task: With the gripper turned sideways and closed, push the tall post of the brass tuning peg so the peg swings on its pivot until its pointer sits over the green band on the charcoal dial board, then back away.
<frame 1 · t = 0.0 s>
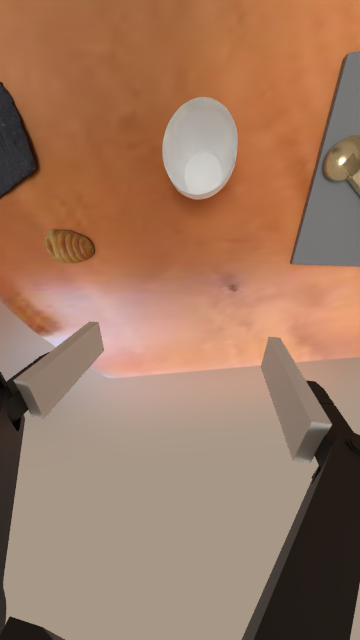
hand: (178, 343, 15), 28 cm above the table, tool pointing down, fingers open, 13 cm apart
pastry: (73, 245, 42), on the table
cup: (203, 175, 33), on the table
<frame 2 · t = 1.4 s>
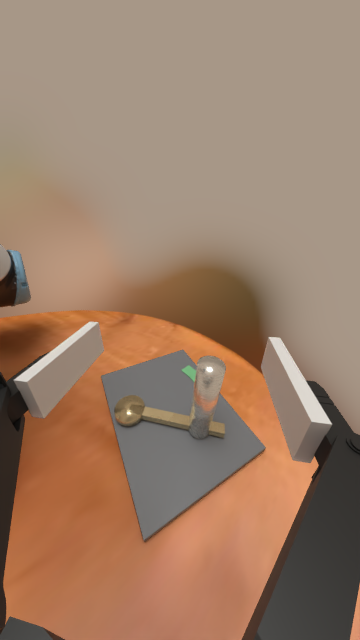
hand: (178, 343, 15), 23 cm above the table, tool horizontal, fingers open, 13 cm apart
dial board: (171, 409, 35), on the table
tuning peg: (169, 393, 28), point 9 cm above the table, hinge at 0.0°
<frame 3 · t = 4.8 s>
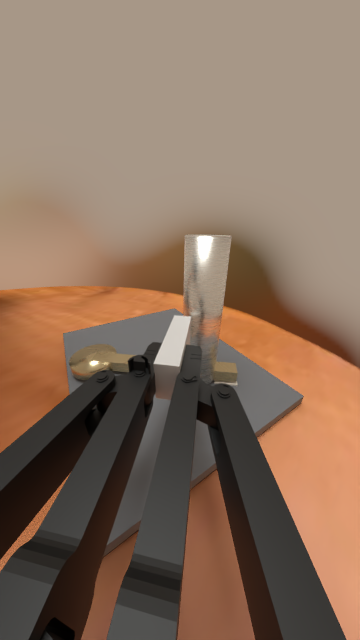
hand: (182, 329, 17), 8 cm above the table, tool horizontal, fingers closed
dial board: (157, 364, 25), on the table
tuning peg: (148, 313, 18), point 9 cm above the table, hinge at 2.2°, touching gripper
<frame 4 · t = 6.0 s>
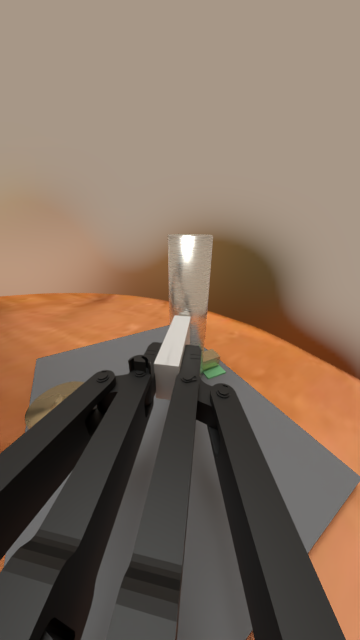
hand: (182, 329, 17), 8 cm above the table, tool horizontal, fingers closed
dial board: (150, 407, 19), on the table
tuning peg: (134, 325, 16), point 9 cm above the table, hinge at 37.1°, touching gripper
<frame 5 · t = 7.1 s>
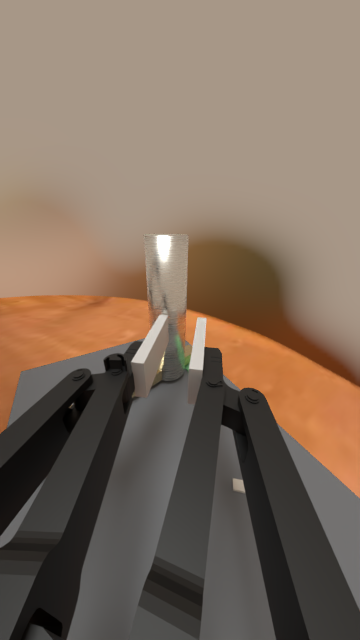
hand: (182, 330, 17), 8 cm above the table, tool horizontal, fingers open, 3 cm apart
dial board: (144, 431, 17), on the table
tuning peg: (117, 331, 15), point 8 cm above the table, hinge at 52.8°, touching gripper
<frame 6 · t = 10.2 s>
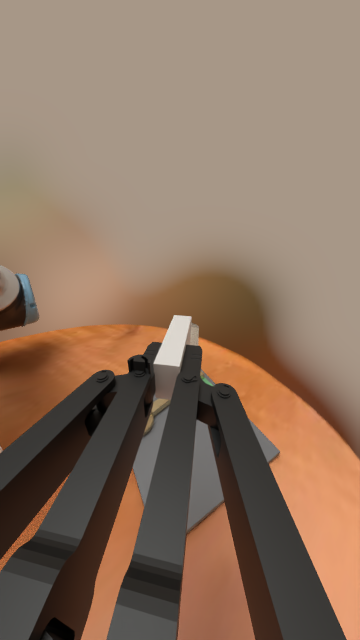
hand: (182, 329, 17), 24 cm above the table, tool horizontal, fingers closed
dial board: (180, 417, 35), on the table
tuning peg: (167, 372, 33), point 9 cm above the table, hinge at 52.9°
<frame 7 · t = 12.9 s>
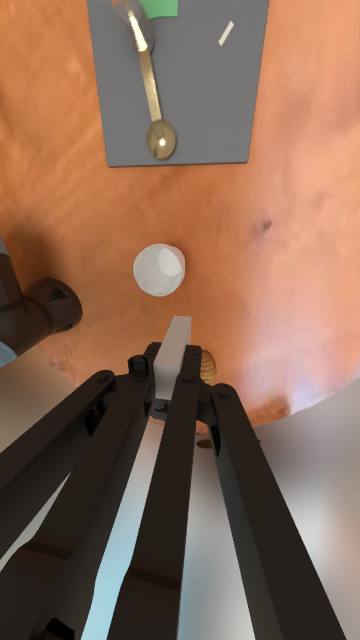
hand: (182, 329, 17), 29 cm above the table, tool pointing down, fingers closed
dark grey crumpled cloth: (156, 387, 63), on the table
pastry: (203, 364, 55), on the table
dial board: (174, 88, 31), on the table
tuning peg: (136, 52, 24), point 9 cm above the table, hinge at 52.9°
cup: (170, 261, 44), on the table
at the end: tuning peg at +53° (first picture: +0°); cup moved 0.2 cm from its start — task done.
